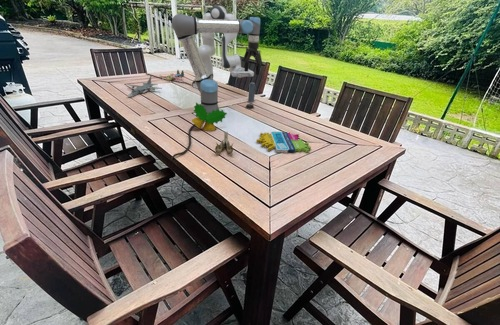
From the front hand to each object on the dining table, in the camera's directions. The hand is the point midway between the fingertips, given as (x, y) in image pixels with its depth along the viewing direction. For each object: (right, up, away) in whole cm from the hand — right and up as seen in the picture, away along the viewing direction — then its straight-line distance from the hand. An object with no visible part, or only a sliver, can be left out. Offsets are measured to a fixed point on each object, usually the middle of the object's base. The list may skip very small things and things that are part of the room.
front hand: (251, 73), depth 195 cm
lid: (-1, -22, +12) cm, 25 cm away
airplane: (-94, -6, +32) cm, 100 cm away
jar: (0, -15, +28) cm, 32 cm away
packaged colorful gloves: (+17, -56, -43) cm, 72 cm away
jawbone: (-15, -61, -57) cm, 85 cm away
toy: (-82, +23, +85) cm, 121 cm away
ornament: (-27, -46, -31) cm, 61 cm away
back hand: (-4, +7, +28) cm, 29 cm away
